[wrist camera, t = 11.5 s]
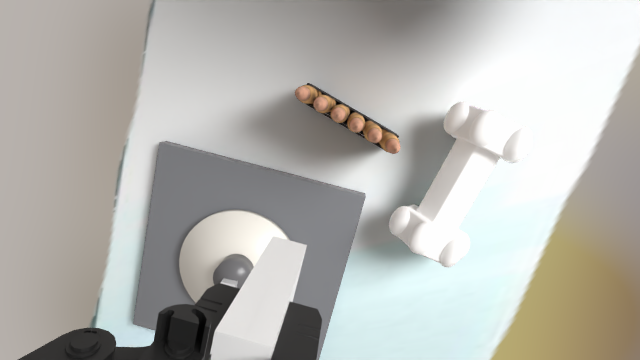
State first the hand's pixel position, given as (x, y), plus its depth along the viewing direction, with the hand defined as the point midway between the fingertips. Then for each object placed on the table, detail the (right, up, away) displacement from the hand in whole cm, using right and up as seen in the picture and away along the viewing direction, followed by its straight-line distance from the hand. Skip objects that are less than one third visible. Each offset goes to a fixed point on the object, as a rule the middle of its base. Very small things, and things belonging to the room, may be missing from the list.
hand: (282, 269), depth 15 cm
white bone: (+16, +4, +25) cm, 30 cm away
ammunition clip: (+5, +11, +25) cm, 27 cm away
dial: (-8, -8, +28) cm, 30 cm away
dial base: (-8, -6, +29) cm, 31 cm away
